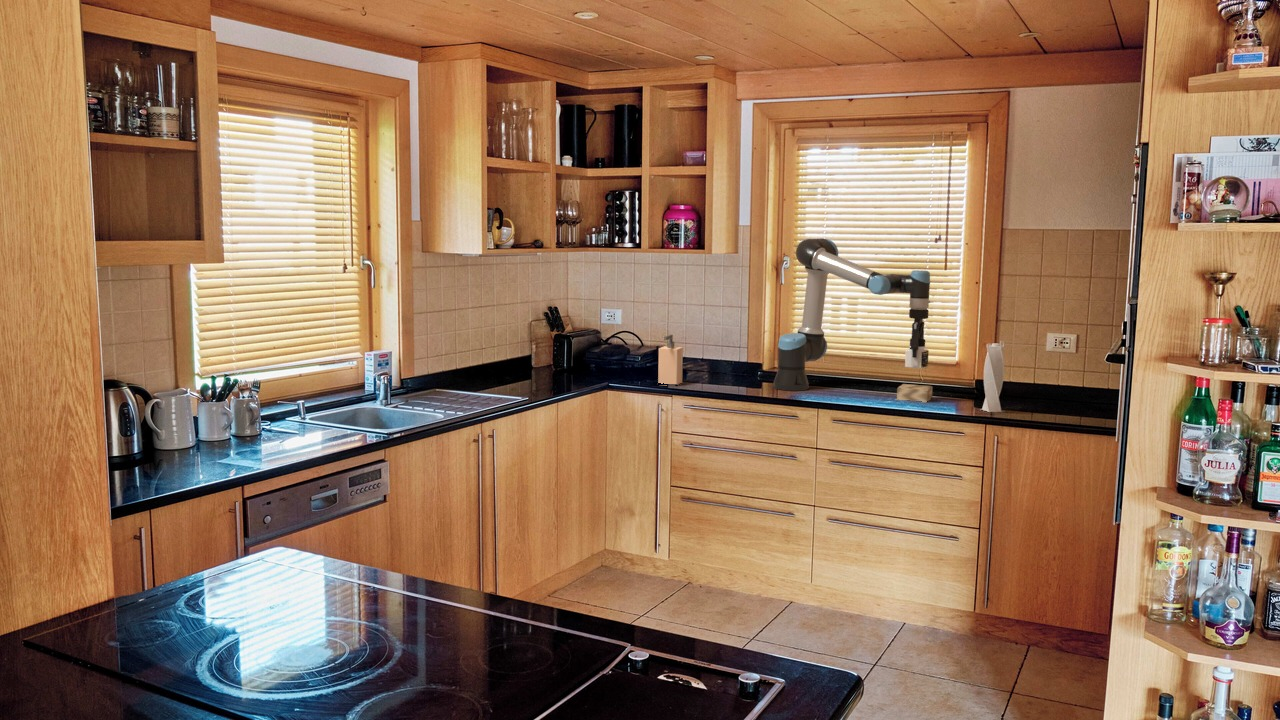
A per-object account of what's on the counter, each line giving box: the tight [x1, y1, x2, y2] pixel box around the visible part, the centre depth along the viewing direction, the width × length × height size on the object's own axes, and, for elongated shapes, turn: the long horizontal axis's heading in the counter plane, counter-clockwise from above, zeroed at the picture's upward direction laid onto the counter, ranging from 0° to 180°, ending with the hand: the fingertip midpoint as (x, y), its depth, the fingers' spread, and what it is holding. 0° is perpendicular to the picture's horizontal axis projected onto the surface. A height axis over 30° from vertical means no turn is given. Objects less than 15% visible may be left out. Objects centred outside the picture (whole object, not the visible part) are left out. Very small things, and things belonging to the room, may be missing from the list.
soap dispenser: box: [657, 334, 684, 384], centre depth 440 cm, size 13×9×22 cm
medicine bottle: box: [904, 338, 929, 370], centre depth 410 cm, size 7×7×12 cm
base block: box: [896, 383, 934, 403], centre depth 412 cm, size 12×12×5 cm
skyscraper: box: [979, 340, 1006, 413], centre depth 384 cm, size 8×8×28 cm
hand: (916, 364), depth 410 cm, fingers closed on medicine bottle, 8 cm apart
